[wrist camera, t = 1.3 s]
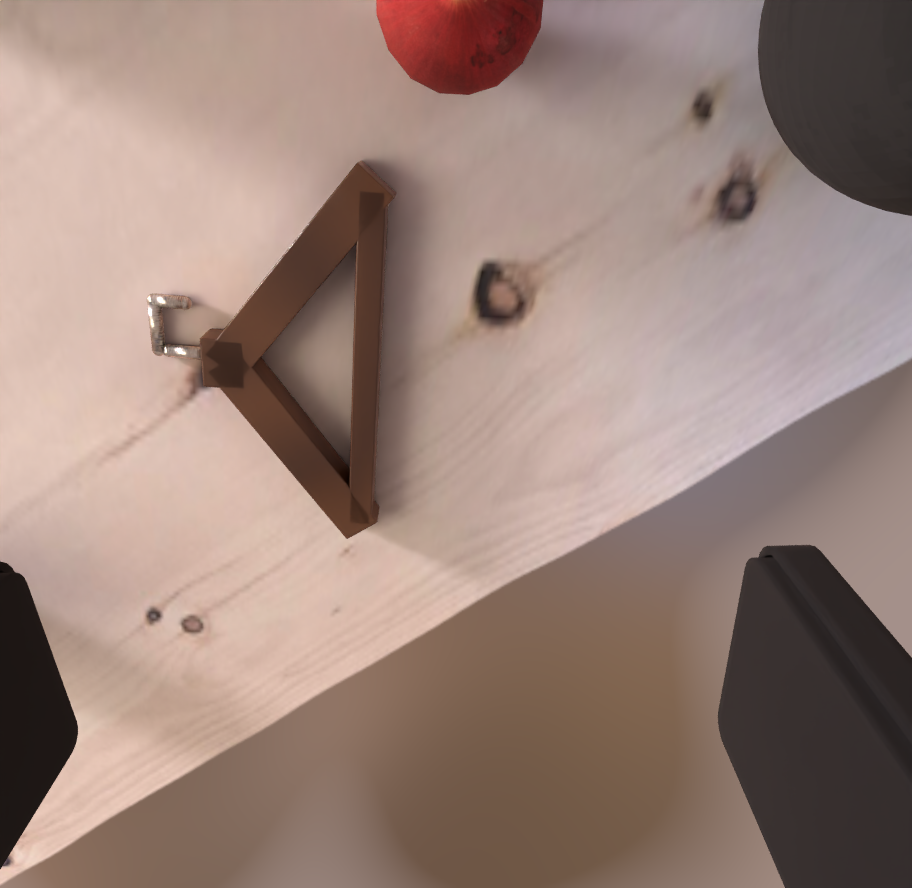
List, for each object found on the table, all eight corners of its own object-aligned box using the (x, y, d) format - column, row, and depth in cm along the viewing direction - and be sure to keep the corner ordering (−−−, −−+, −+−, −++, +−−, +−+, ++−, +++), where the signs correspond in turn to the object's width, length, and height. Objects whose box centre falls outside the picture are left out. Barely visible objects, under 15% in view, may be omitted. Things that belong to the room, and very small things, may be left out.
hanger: (172, 510, 37) (161, 526, 35) (133, 137, 29) (116, 139, 27) (378, 525, 37) (376, 541, 36) (397, 164, 29) (395, 166, 28)
